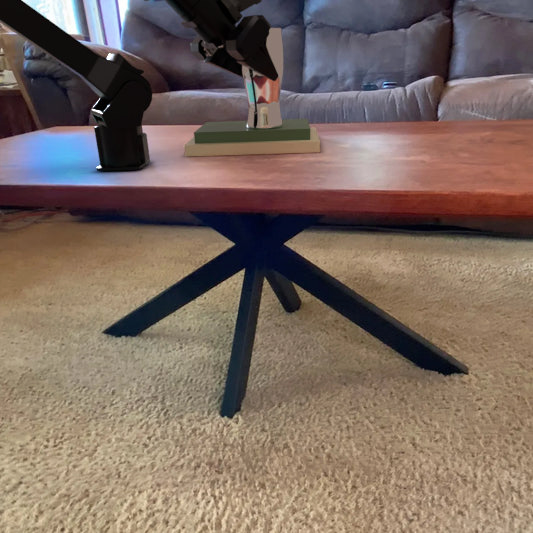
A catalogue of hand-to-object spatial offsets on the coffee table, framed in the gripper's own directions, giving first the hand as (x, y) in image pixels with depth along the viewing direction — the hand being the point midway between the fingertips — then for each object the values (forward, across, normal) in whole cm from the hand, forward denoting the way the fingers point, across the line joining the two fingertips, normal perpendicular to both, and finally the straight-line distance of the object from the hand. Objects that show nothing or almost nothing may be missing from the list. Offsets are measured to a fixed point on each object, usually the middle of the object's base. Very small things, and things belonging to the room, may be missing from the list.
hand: (262, 78), depth 83 cm
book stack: (+8, +3, +8) cm, 12 cm away
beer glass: (+6, 0, +6) cm, 8 cm away
